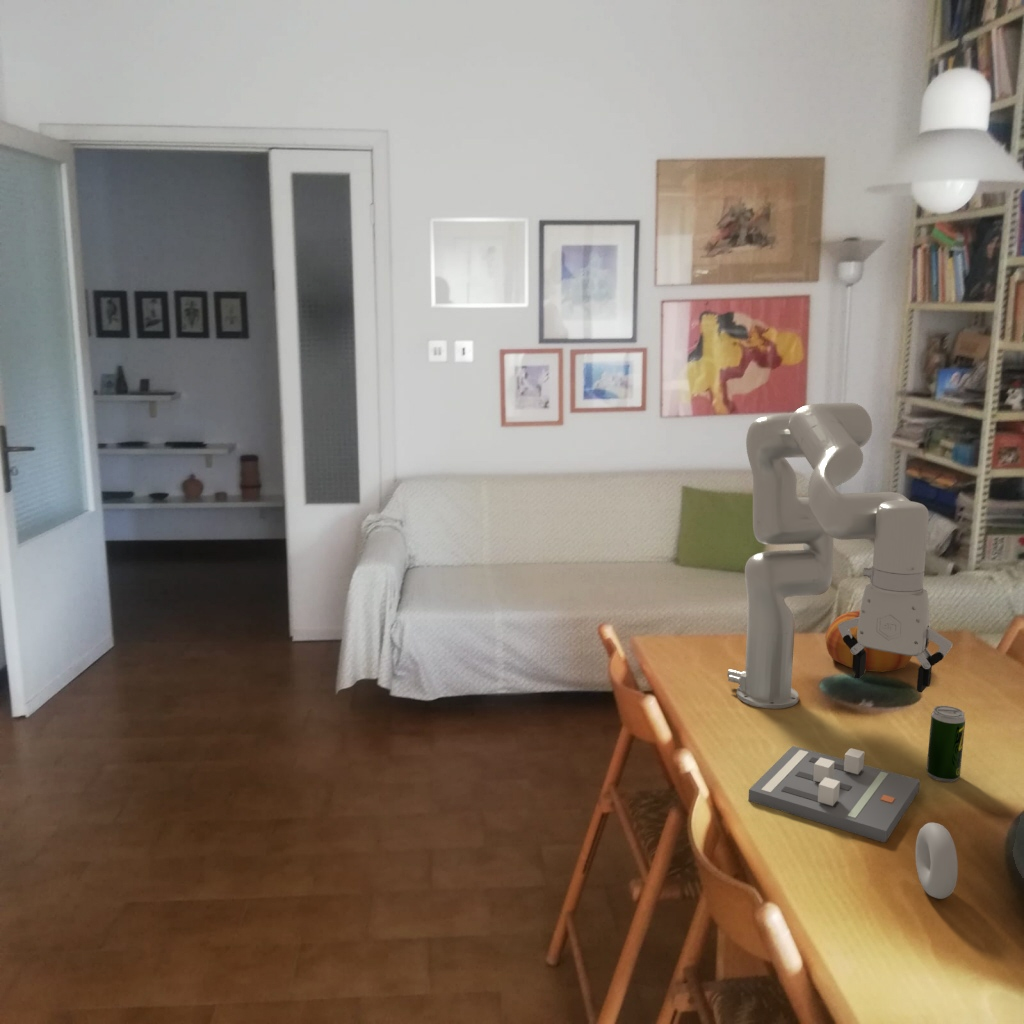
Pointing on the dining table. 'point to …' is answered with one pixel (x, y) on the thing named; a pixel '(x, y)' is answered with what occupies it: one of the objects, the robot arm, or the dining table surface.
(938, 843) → the donut
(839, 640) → the pumpkin
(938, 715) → the beer can
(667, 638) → the dining table surface
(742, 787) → the dining table surface
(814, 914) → the dining table surface
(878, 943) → the dining table surface
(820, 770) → the handle
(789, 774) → the panel
